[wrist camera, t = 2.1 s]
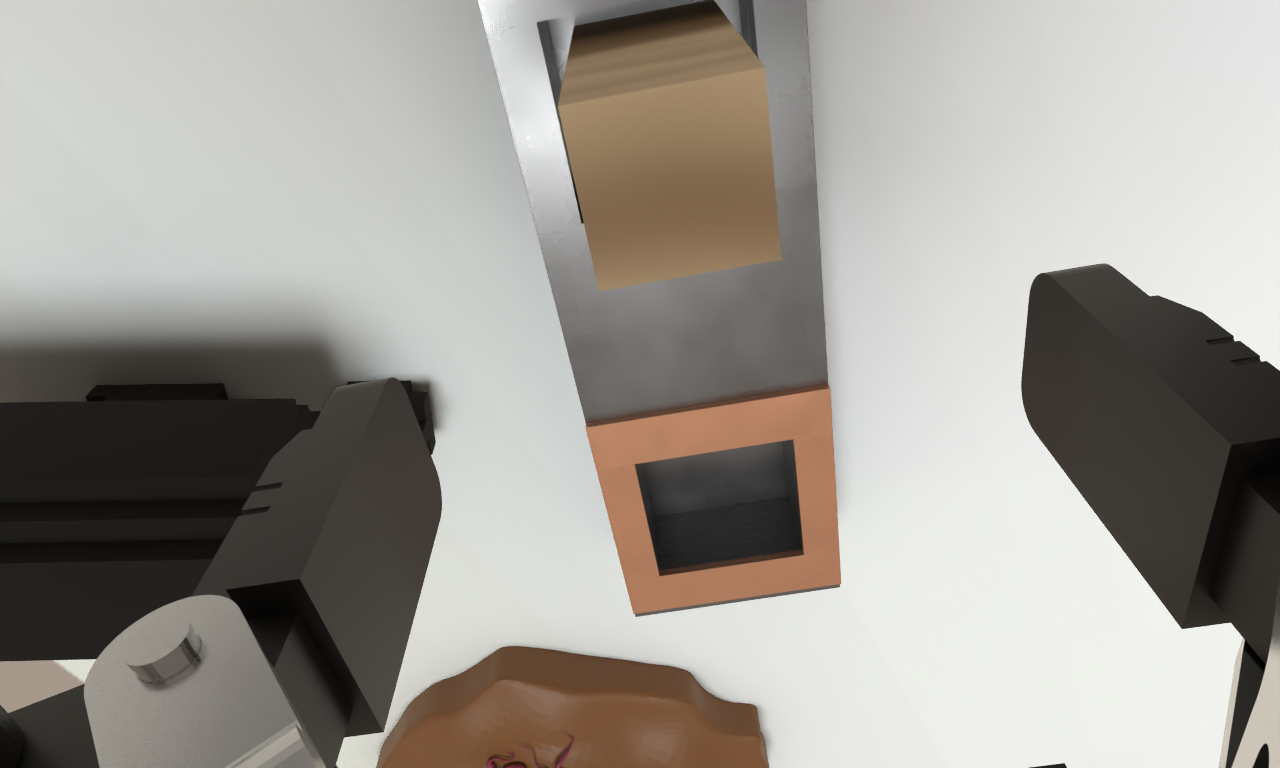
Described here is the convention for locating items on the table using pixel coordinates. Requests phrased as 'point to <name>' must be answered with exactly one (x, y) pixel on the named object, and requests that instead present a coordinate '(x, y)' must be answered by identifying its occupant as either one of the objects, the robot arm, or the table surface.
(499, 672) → the plant
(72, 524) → the security camera
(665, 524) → the rail
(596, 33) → the brown upright block
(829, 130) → the table surface
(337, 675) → the robot arm
